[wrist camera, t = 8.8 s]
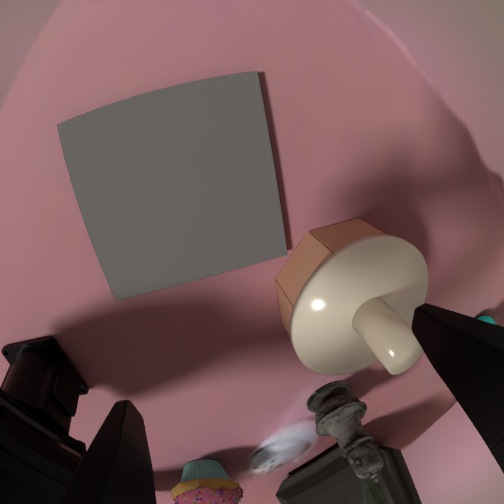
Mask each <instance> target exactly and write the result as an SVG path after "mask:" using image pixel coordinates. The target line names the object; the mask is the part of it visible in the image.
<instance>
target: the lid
mask: <svg viewBox="0 0 504 504" xmlns="http://www.w3.org/2000/svg"><path fill="white" fill-rule="evenodd" d="M428 282H429V281H428V269H427V265H426V262H425V259H424V257H423V255H422V254H421V252H420V251H419V250H418V249H417V248H416V247H415V246H414V245H412V244H411V243H409V242H407V241H406V240H404V239H402V238H400V237H398V236H394V235H390V234H374V235H370V236H365V237H362V238H360V239H357V240H354V241H352V242H350V243H348V244H347V245H345V246H343V247H342V248H340V249H339V250H337V251H336V252H334V253H333V254H332V255H331V256H329V257H328V258H327V259H326V260H325V261H324V262H323V263H322V264H321V265H320V266H319V267H318V268H317V269H316V270H315V271H314V272H313V274H312V275H311V276H310V277H309V278H308V280H307V281H306V283H305V284H304V286H303V287H302V289H301V291H300V293H299V295H298V297H297V299H296V301H295V304H294V307H293V310H292V314H291V318H290V326H289V330H290V339H291V343H292V346H293V348H294V350H295V352H296V354H297V356H298V357H299V359H300V360H301V362H302V363H303V364H304V365H305V366H306V367H307V368H309V369H310V370H312V371H314V372H317V373H319V374H324V375H343V374H348V373H352V372H355V371H358V370H361V369H363V368H365V367H367V366H369V365H371V364H373V363H375V362H377V361H378V360H379V361H380V362H381V363H382V364H383V365H384V367H385V368H386V369H387V370H388V372H389V373H390V374H392V375H397V374H401V373H403V372H405V371H406V370H408V369H409V368H411V367H412V366H413V365H414V364H415V363H416V362H417V361H418V360H419V358H420V357H421V355H422V354H423V352H424V351H423V349H422V347H421V346H420V344H419V343H418V341H417V339H416V338H415V336H414V334H413V332H412V329H411V325H412V320H413V314H414V310H415V308H416V307H418V306H420V305H422V304H424V302H425V299H426V295H427V291H428Z"/></svg>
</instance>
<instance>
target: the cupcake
mask: <svg viewBox="0 0 504 504" xmlns="http://www.w3.org/2000/svg"><path fill="white" fill-rule="evenodd" d="M243 493H244V492H243V489H242V488H241V487H240V485H239V483H236V482H235V481H233V480H231V479H230V477H229V476H228V475H227V474H226V472H225V471H224V469H223V468H222V466H221V464H220V463H219V462H217V461H215V460H210V459H200V460H194V461H191V462H189V463H187V464H186V465H185V466H184V469H183V474H182V478H181V481H180V483H178V484H177V485H176V486H175V487H173V488H172V491H171V494H172V498H173V500H174V501H175V504H238V502H241V500H240V499H241V498H243Z"/></svg>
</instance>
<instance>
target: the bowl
mask: <svg viewBox="0 0 504 504" xmlns="http://www.w3.org/2000/svg"><path fill="white" fill-rule="evenodd" d="M374 234H385V233H383V232H382V231H380V230H378V229H377V228H375V227H373V226H371V225H370V224H368V223H366V222H365V221H363V220H361V219H360V218H357V219H353V220H349V221H345V222H342V223H338V224H334V225H330V226H326V227H323V228H319V229H315V230H311V231H310V233H309V232H308V233H307V234H306V236H305V237H304V239H303V240H302V242H301V243H300V244H299V246H298V247H297V249H296V250H295V251H294V253H293V254H292V256H291V257H290V258H289V260H288V261H287V263H286V264H285V265H284V267H283V268H282V270H281V271H280V272H279V274H278V275H277V277H276V280H275V283H276V289H277V295H278V301H279V308H280V314H281V320H282V323H283V325H284V327H285V329H286V331H287V332H288V334H289V336H290V330H289V326H290V318H291V314H292V310H293V307H294V304H295V301H296V299H297V297H298V295H299V293H300V291H301V289H302V287H303V286H304V284H305V283H306V281H307V280H308V278H309V277H310V276H311V275H312V274H313V272H314V271H315V270H316V269H317V268H318V267H319V266H320V265H321V264H322V263H323V262H324V261H325V260H326V259H327V258H328V257H329V256H331V255H332V254H333V253H334V252H336V251H337V250H339V249H340V248H342V247H343V246H345V245H347V244H348V243H350V242H352V241H354V240H357V239H360V238H362V237H365V236H370V235H374Z"/></svg>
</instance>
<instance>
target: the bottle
mask: <svg viewBox="0 0 504 504" xmlns="http://www.w3.org/2000/svg"><path fill="white" fill-rule="evenodd" d="M372 444H373V445H374V447H375V449H376V450H377V452H378V453H379V455H380V457H381V458H382V460H383V463H384V464H383V468H382V469H381V471H380V472H379V474H378V475H377V477H380V478H379V482H378V483H377V482H375V481H373V480H374V479H373V478H367V479H361V478H359V477H357V475H356V474H355V472H354V470H353V468H352V466H351V464H350V463H349V461H348V459H347V458H344V457H342V456H341V453H342V449H341V448H340V446H339V445H338V446H337V447H335V448H334V449H332V450H331V451H329V452H328V453H326V454H325V455H323V456H321V457H320V458H318V459H317V460H315V461H313V462H312V463H310V464H309V465H307V466H305V467H304V468H302V469H300V470H298V471H297V472H295V473H293V474H291V475H290V476H288V477H287V478H286V479H285V480H284V481H283V482H282V483H281V485H280V487H279V489H278V491H277V493H276V497H277V498H278V500H279V502H280V503H281V504H422V503H421V500H420V498H419V495H418V493H417V490H416V488H415V485H414V483H413V480H412V478H411V475H410V473H409V470H408V468H407V465H406V463H405V460H404V458H403V456H402V453H401V451H400V450H399V449H394V448H390V447H385V446H381V445H377V444H374V443H372Z"/></svg>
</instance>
